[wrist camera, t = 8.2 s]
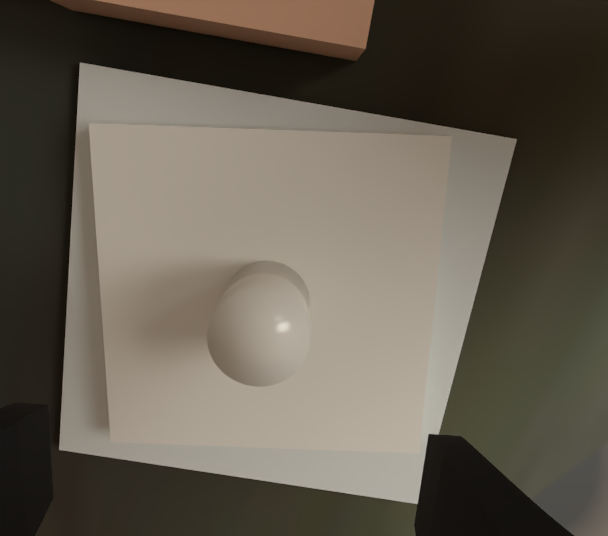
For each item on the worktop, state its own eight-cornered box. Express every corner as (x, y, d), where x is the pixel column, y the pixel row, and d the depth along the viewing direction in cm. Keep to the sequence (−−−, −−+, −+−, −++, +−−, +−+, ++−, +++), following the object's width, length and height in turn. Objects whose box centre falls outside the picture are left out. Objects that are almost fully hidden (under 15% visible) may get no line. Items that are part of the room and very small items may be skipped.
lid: (443, 135, 17) (485, 139, 13) (414, 437, 20) (440, 517, 16) (100, 122, 17) (36, 123, 13) (120, 426, 20) (72, 503, 16)
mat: (512, 138, 18) (516, 139, 17) (417, 497, 21) (419, 504, 21) (84, 63, 17) (79, 62, 17) (63, 443, 21) (59, 449, 20)
